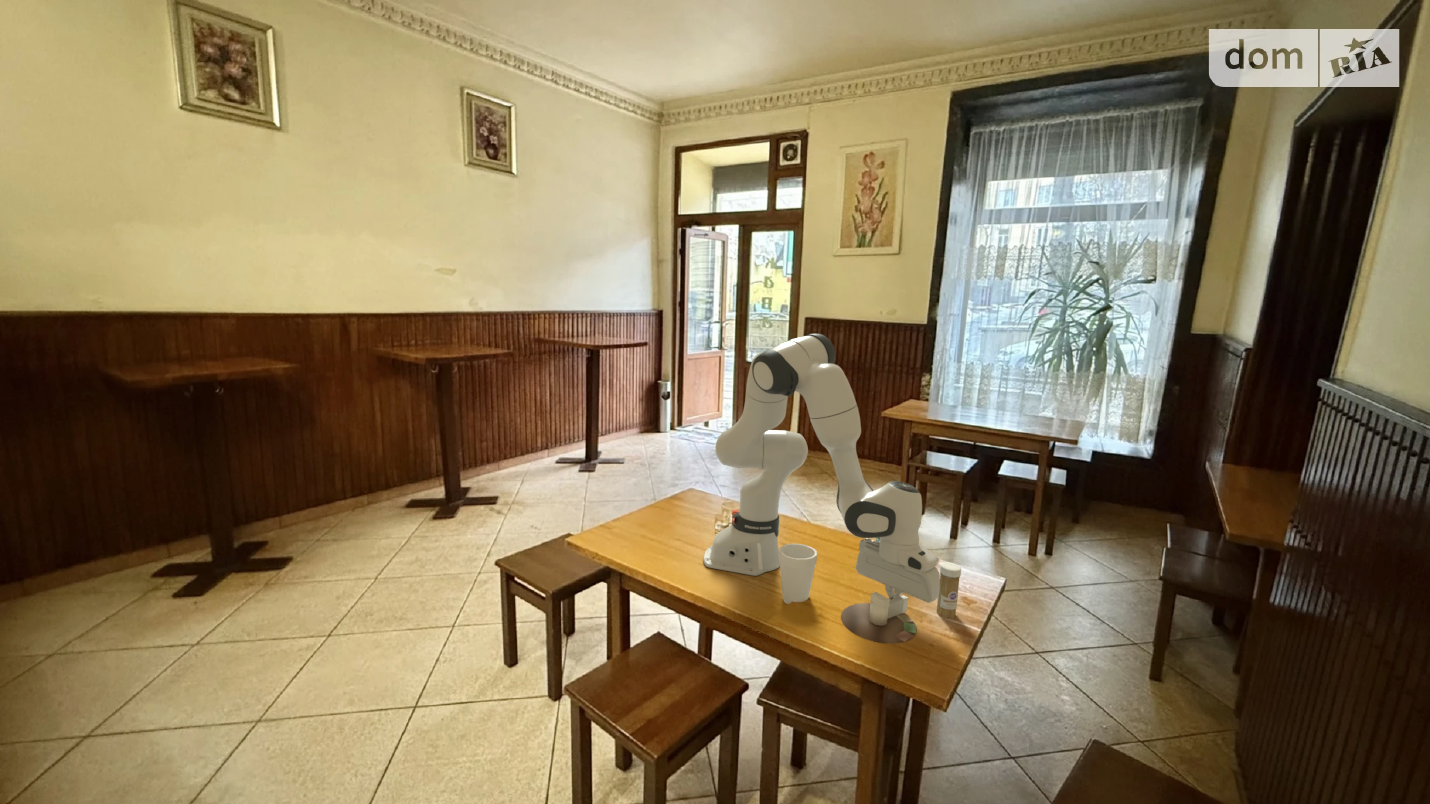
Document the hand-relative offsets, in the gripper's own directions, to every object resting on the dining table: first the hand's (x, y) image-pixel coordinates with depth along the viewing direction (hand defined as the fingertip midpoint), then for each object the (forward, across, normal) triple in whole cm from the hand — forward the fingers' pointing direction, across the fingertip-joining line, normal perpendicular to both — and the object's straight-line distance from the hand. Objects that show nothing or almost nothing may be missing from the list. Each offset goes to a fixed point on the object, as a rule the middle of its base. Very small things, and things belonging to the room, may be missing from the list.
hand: (893, 603), depth 135 cm
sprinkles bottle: (+3, +9, +9) cm, 13 cm away
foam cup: (+4, -20, -12) cm, 24 cm away
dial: (+3, 0, -7) cm, 8 cm away
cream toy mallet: (+2, +1, -3) cm, 4 cm away
